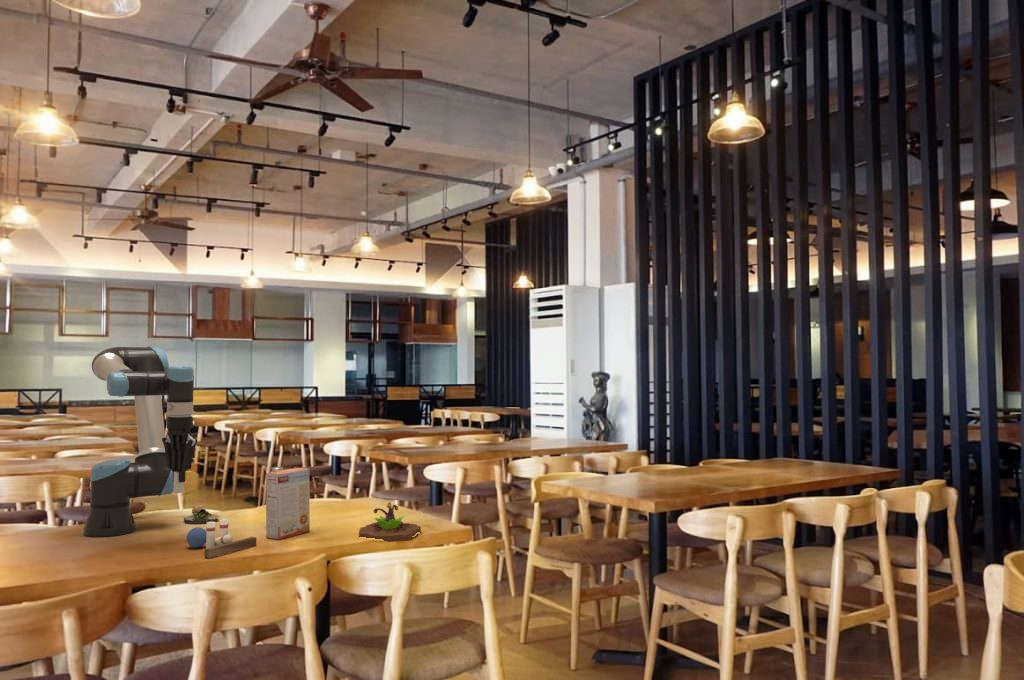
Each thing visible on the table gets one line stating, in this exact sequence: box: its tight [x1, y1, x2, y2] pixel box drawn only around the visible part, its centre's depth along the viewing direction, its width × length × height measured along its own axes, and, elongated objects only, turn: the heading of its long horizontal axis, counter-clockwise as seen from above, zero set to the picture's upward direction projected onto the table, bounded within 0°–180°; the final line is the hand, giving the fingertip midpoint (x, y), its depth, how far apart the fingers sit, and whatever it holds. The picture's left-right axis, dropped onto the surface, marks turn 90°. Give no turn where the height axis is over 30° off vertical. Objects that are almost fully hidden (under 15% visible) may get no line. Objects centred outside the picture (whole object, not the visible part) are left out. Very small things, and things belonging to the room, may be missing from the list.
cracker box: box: [265, 467, 311, 540], centre depth 260 cm, size 14×6×21 cm, turn 150°
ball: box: [186, 526, 207, 549], centre depth 242 cm, size 6×6×6 cm
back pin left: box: [219, 518, 229, 537], centre depth 241 cm, size 2×2×8 cm
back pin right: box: [205, 521, 216, 549], centre depth 237 cm, size 2×2×8 cm
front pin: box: [215, 533, 234, 546], centre depth 239 cm, size 2×2×8 cm
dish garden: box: [183, 502, 220, 525], centre depth 282 cm, size 12×12×8 cm
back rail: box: [204, 536, 257, 559], centre depth 237 cm, size 2×18×2 cm, turn 154°
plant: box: [358, 502, 422, 543], centre depth 260 cm, size 20×20×11 cm
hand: (178, 492), depth 247 cm, fingers closed
